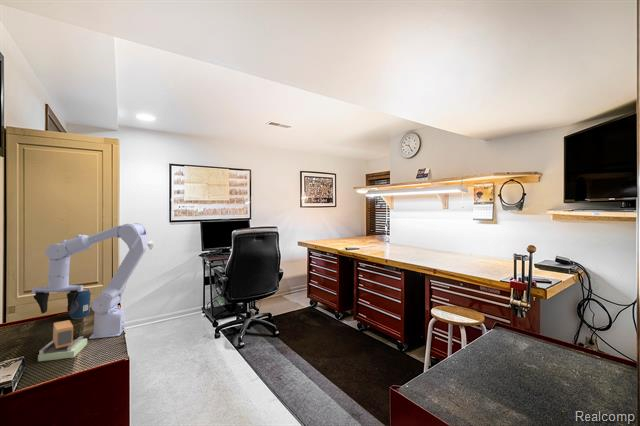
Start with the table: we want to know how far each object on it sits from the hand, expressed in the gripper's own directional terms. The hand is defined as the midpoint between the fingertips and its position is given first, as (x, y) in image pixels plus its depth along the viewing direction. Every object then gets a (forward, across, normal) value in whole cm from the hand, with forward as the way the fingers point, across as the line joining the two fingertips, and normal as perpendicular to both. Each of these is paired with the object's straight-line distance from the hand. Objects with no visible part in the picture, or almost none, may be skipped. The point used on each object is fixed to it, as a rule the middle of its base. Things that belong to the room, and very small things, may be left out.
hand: (57, 311), depth 105 cm
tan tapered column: (+6, -8, +15) cm, 18 cm away
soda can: (+10, +1, -22) cm, 24 cm away
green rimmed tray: (+9, -8, +15) cm, 20 cm away
